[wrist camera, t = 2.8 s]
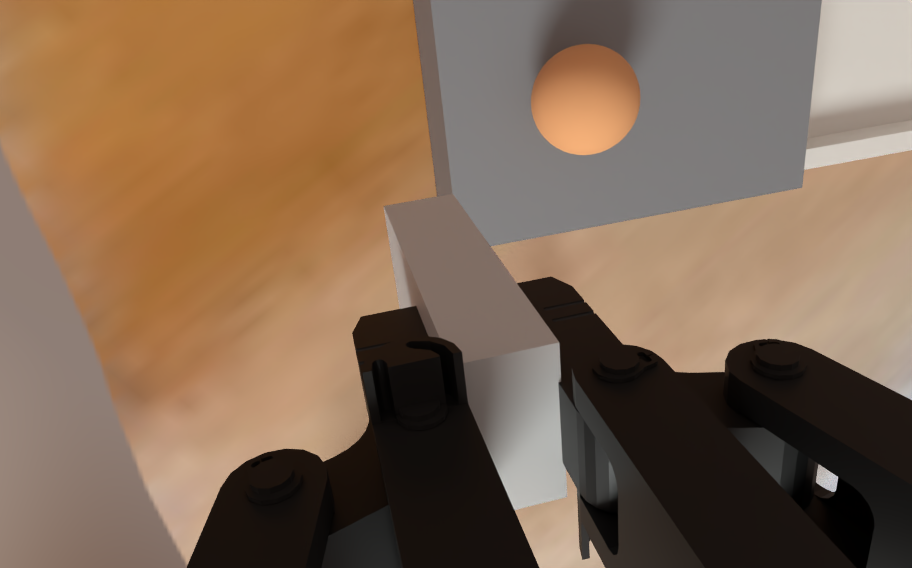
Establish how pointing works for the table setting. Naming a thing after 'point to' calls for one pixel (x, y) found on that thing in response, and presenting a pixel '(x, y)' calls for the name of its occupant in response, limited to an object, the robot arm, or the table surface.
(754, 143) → the deck
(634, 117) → the ball
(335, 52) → the table surface
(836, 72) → the tray
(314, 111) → the table surface
